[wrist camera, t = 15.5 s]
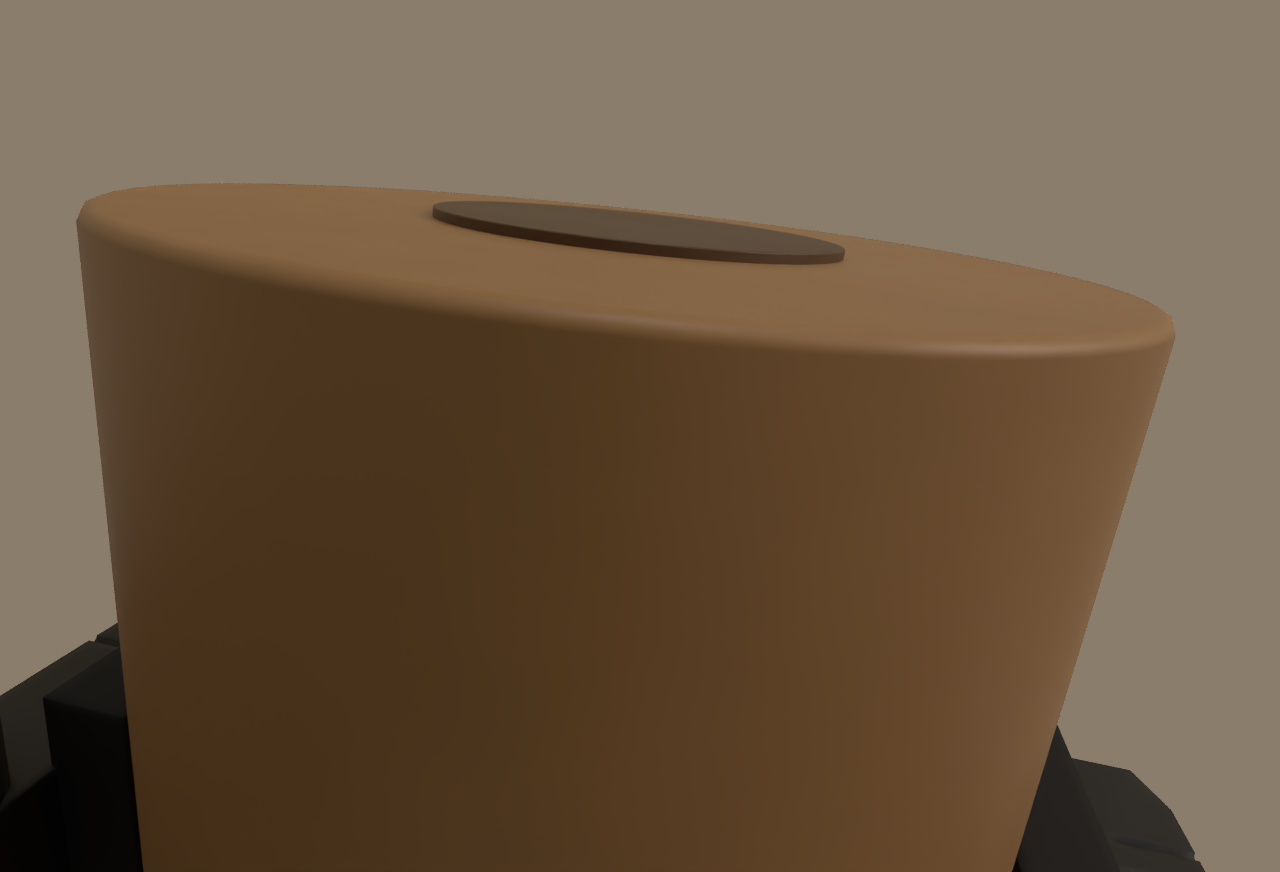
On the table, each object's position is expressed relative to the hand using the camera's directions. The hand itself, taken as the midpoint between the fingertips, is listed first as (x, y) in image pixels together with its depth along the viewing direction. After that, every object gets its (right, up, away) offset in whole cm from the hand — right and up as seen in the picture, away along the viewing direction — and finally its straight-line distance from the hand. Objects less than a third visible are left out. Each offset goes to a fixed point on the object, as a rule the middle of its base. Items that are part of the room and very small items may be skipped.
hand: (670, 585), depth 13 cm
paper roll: (-2, -12, -1) cm, 13 cm away
